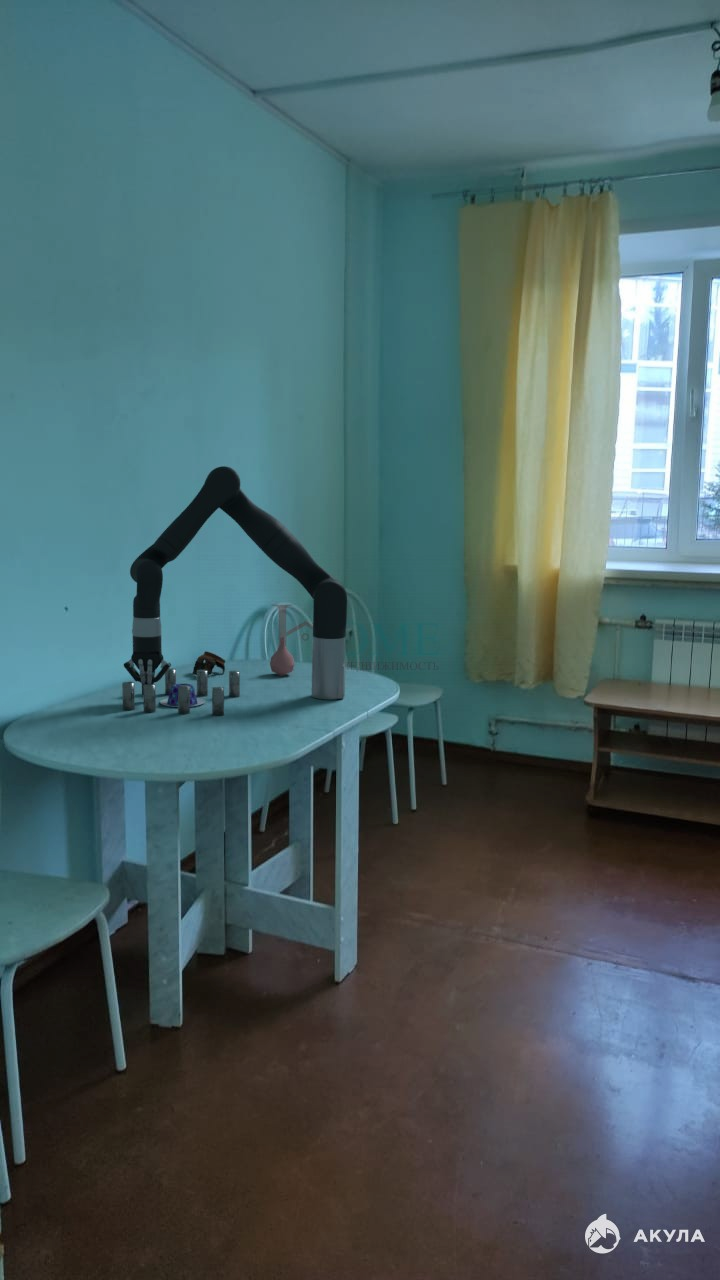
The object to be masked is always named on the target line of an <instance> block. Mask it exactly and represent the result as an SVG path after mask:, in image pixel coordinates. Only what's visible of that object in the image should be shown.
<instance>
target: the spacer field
mask: <svg viewBox="0 0 720 1280" xmlns="http://www.w3.org/2000/svg"><path fill="white" fill-rule="evenodd" d="M208 678H209V677H208V670H197V675H196V697H207V696H208V691H209V690H208V688H209V687H208V683H209V679H208ZM174 684H177V669H176V668H169V669H168V670H167V672H166V673H165V674H164V695H165V696H166V695H167V696H169V694H170V690H171V687H172V686H173V685H174ZM121 686H122V687H121V688H122V693H121V694H122V710H123V711H133V710H135V681H123V682H122V685H121ZM240 686H241V671H240V670H229V671H228V697H230V698H239V697H240V696H241V694H240V693H241V690H240V689H241V688H240ZM143 689H144V695H143V712H144V713H147V714H149V713H150V714H151V713H155V712H156V711H157V710H156V709H157V708H156V684H155V683H154V684H144V685H143ZM211 689H212V691H211V693H212V694H211V697H212V699H211V715H212V716H213V717H214V716H215V717H222V716H225V687H224V686H215V687H214V686H213V687H212V688H211ZM177 713H178V714H179V715H187V714H190V713H191V707H190V686H189V685H180V686H178V706H177Z"/></svg>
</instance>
